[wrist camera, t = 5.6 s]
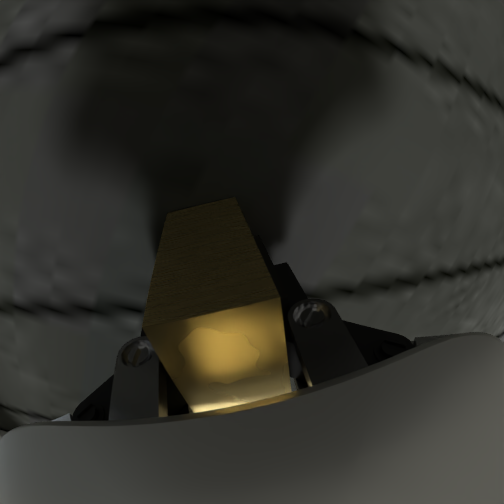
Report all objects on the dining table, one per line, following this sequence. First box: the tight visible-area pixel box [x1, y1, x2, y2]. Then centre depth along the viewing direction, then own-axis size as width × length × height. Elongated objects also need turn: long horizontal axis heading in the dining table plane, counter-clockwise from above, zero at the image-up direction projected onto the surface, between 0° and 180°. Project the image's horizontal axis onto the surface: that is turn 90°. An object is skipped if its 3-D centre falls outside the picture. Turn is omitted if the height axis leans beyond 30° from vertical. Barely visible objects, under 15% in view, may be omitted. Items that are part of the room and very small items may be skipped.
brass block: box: [142, 197, 291, 413], centre depth 9 cm, size 6×2×6 cm, turn 9°
